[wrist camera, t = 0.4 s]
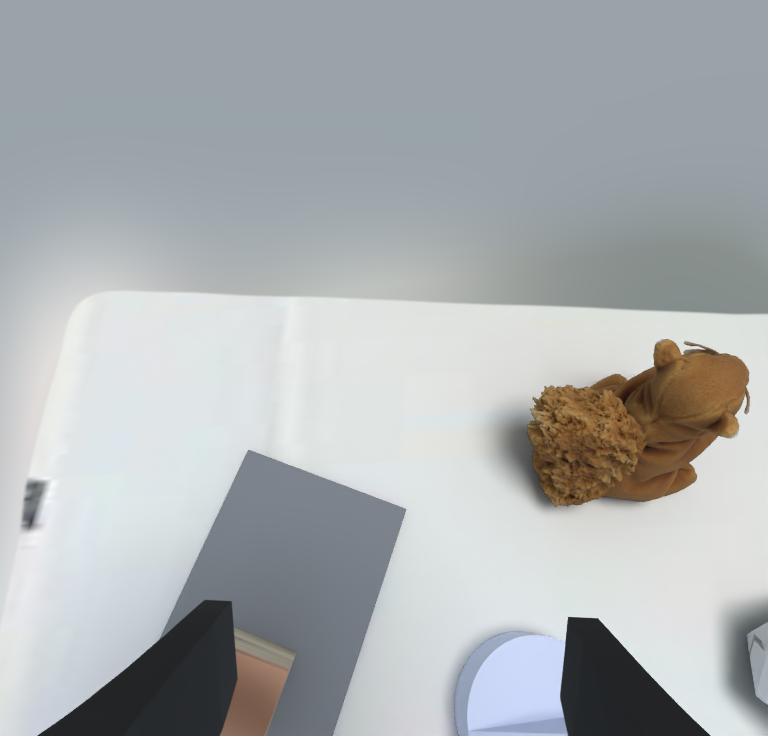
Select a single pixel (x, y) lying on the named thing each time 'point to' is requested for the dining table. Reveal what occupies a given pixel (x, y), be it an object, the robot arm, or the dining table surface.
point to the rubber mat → (297, 579)
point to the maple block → (256, 684)
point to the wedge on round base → (512, 687)
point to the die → (759, 660)
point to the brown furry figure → (636, 427)
